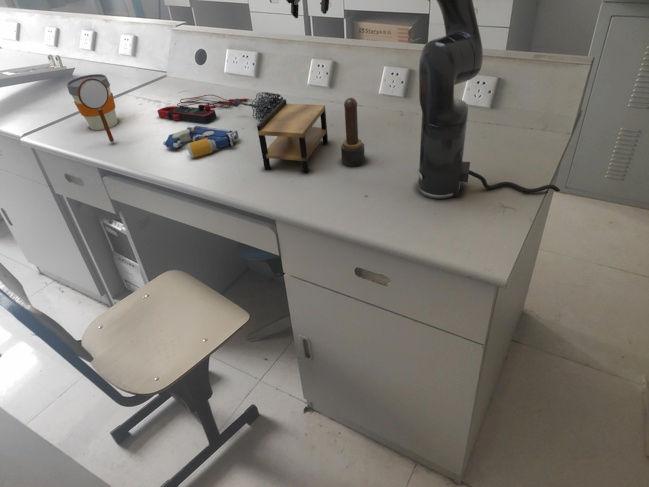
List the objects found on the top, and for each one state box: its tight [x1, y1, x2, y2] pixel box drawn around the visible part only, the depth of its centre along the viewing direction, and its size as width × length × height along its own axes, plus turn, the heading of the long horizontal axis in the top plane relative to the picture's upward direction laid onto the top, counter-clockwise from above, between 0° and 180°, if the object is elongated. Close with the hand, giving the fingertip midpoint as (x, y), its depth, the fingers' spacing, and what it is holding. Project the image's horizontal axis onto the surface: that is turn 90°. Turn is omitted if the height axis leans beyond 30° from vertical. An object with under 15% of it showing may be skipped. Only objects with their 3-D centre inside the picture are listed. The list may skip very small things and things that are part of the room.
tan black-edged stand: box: [256, 98, 329, 174], centre depth 121 cm, size 12×18×12 cm, turn 162°
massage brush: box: [233, 91, 288, 123], centre depth 143 cm, size 9×22×9 cm, turn 56°
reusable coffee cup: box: [66, 73, 118, 131], centre depth 150 cm, size 13×13×15 cm
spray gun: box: [162, 125, 240, 159], centre depth 133 cm, size 21×4×15 cm
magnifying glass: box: [78, 78, 115, 145], centre depth 135 cm, size 9×2×20 cm, turn 139°
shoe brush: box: [340, 97, 366, 168], centre depth 114 cm, size 6×6×17 cm
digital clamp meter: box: [157, 94, 253, 125], centre depth 157 cm, size 23×4×25 cm
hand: (309, 14), depth 125 cm, fingers open, 8 cm apart
